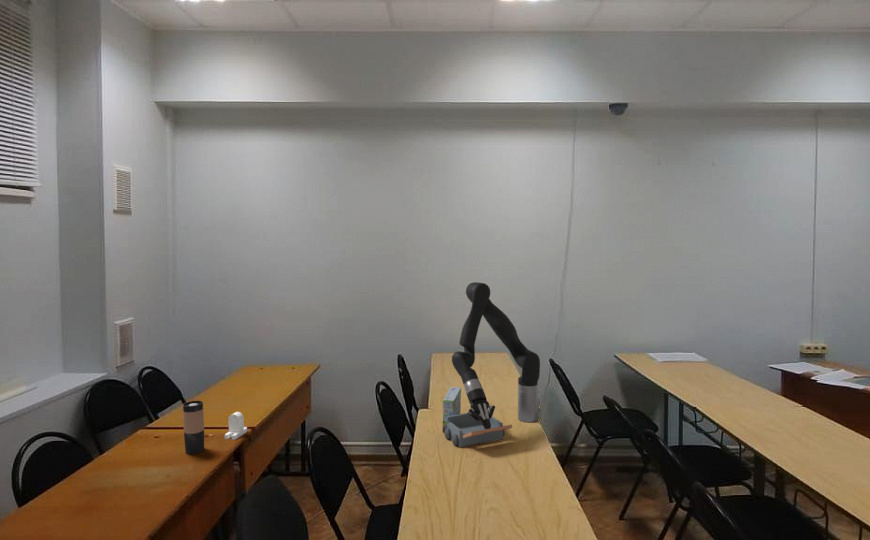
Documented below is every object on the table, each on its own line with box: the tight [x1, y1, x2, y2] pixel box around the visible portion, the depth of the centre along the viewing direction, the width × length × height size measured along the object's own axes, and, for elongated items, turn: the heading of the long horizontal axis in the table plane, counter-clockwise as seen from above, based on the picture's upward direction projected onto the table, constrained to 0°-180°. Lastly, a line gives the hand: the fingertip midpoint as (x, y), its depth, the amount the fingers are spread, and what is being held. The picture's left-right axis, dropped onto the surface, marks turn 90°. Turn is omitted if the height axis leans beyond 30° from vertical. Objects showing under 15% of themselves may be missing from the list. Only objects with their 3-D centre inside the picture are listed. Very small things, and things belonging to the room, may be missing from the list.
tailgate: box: [462, 424, 513, 438], centre depth 215 cm, size 19×2×9 cm
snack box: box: [442, 386, 462, 433], centre depth 241 cm, size 21×6×15 cm, turn 168°
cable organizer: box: [224, 411, 248, 441], centre depth 231 cm, size 5×10×10 cm, turn 168°
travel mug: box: [182, 400, 205, 455], centre depth 214 cm, size 8×8×20 cm
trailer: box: [443, 409, 506, 448], centre depth 226 cm, size 23×13×9 cm, turn 114°
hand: (488, 428), depth 214 cm, fingers closed
